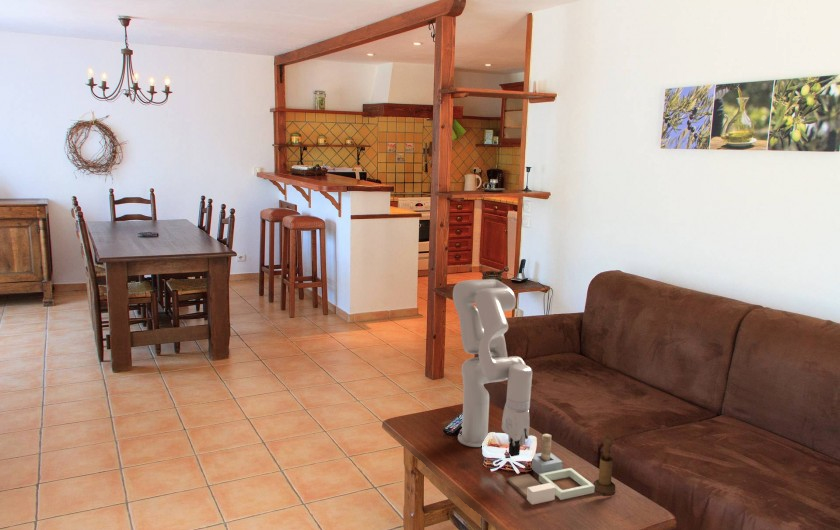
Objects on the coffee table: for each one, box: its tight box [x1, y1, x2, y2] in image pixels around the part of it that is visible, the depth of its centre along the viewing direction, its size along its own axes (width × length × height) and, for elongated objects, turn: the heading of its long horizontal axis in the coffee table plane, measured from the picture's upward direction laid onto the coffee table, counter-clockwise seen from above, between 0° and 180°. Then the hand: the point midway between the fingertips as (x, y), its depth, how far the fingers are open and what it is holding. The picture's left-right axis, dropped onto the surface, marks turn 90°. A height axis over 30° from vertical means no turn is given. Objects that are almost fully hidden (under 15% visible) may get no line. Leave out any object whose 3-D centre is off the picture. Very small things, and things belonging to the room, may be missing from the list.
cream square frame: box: [538, 467, 595, 501], centre depth 202 cm, size 12×12×3 cm
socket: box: [531, 452, 564, 476], centre depth 213 cm, size 8×8×5 cm
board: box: [507, 473, 542, 499], centre depth 201 cm, size 12×8×2 cm, turn 23°
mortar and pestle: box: [593, 436, 616, 497], centre depth 201 cm, size 7×6×18 cm
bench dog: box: [526, 483, 556, 505], centre depth 194 cm, size 3×8×5 cm, turn 112°
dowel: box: [540, 433, 552, 462], centre depth 212 cm, size 3×3×12 cm
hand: (513, 454), depth 208 cm, fingers closed
